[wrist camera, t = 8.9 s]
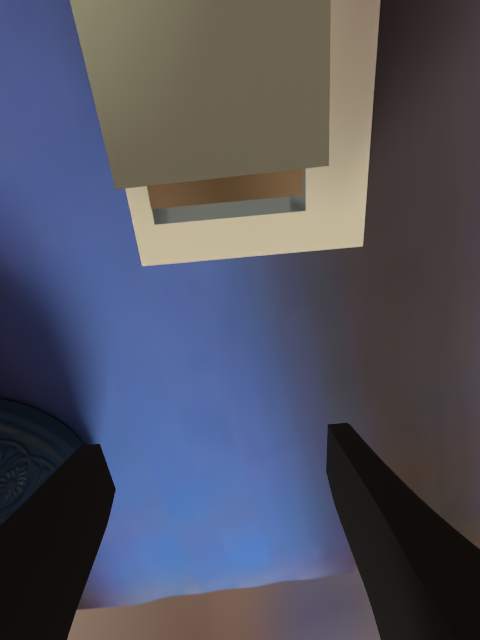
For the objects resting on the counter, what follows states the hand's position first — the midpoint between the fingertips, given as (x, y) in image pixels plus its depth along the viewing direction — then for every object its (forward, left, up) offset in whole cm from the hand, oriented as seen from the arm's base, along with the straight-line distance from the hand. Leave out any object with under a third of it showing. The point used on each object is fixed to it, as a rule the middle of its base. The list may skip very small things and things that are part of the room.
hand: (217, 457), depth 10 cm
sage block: (-1, -10, -5) cm, 11 cm away
